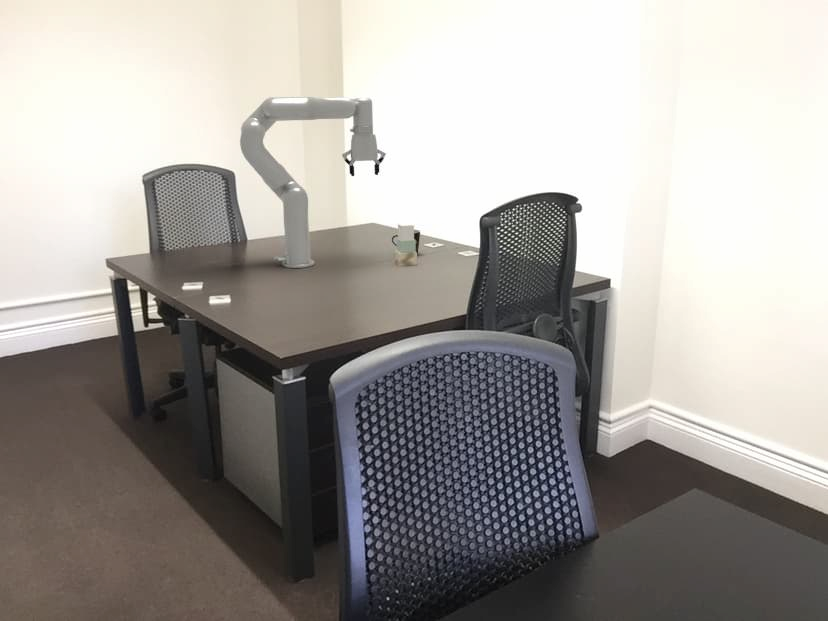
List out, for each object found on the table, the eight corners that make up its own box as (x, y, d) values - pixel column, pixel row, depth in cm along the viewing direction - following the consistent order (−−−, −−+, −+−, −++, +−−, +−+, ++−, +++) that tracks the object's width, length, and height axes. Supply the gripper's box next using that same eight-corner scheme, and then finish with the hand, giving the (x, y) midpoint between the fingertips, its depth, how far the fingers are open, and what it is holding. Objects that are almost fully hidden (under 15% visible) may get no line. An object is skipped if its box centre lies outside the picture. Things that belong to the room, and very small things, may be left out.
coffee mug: (421, 252, 310) (421, 229, 308) (419, 257, 302) (419, 233, 299) (394, 252, 312) (393, 229, 309) (391, 256, 303) (391, 233, 300)
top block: (401, 241, 285) (401, 226, 283) (398, 238, 290) (397, 223, 288) (414, 240, 287) (413, 225, 285) (410, 238, 291) (409, 223, 289)
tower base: (400, 266, 287) (400, 254, 286) (395, 262, 294) (395, 250, 292) (417, 265, 289) (417, 252, 288) (411, 261, 296) (411, 249, 294)
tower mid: (401, 253, 287) (400, 241, 285) (396, 250, 292) (396, 238, 291) (415, 252, 288) (415, 240, 287) (411, 249, 294) (411, 237, 292)
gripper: (343, 131, 278) (344, 177, 283) (387, 130, 282) (388, 175, 287) (339, 130, 285) (341, 175, 290) (382, 129, 289) (383, 173, 294)
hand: (364, 175), depth 289 cm, fingers open, 9 cm apart
